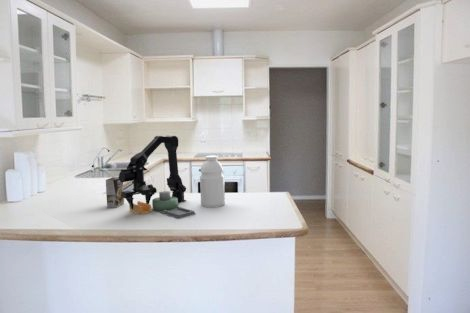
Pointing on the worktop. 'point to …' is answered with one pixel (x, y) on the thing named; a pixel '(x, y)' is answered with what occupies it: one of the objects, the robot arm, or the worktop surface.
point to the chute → (141, 208)
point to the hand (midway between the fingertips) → (140, 207)
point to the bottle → (212, 183)
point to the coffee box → (114, 192)
